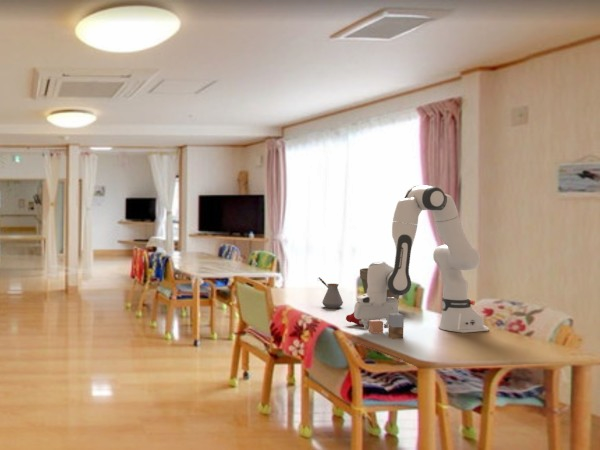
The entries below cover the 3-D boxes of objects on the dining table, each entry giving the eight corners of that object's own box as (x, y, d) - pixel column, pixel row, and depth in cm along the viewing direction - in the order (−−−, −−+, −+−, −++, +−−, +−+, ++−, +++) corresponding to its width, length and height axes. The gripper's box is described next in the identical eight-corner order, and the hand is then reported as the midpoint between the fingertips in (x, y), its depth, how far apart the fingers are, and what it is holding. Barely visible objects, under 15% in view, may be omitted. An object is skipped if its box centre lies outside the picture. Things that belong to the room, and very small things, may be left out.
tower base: (399, 336, 272) (399, 324, 272) (403, 338, 267) (403, 327, 267) (388, 336, 271) (388, 325, 271) (392, 338, 266) (392, 327, 266)
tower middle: (399, 324, 272) (399, 313, 272) (403, 327, 267) (403, 315, 267) (388, 325, 271) (388, 313, 271) (392, 327, 266) (392, 315, 266)
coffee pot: (346, 308, 341) (347, 281, 340) (329, 309, 335) (329, 282, 335) (326, 302, 360) (327, 276, 359) (309, 303, 354) (310, 277, 353)
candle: (382, 326, 291) (352, 331, 287) (372, 321, 302) (343, 326, 298) (380, 307, 290) (350, 312, 286) (371, 303, 301) (342, 307, 297)
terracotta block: (379, 330, 283) (379, 319, 283) (383, 333, 278) (383, 322, 278) (368, 331, 282) (369, 320, 282) (372, 333, 277) (372, 322, 277)
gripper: (396, 296, 284) (395, 326, 285) (353, 297, 280) (352, 327, 281) (401, 298, 278) (400, 329, 279) (357, 299, 274) (356, 330, 275)
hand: (376, 328), depth 280 cm, fingers open, 8 cm apart
